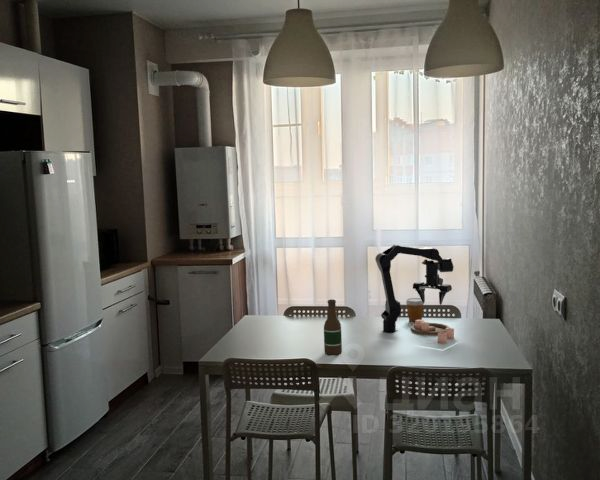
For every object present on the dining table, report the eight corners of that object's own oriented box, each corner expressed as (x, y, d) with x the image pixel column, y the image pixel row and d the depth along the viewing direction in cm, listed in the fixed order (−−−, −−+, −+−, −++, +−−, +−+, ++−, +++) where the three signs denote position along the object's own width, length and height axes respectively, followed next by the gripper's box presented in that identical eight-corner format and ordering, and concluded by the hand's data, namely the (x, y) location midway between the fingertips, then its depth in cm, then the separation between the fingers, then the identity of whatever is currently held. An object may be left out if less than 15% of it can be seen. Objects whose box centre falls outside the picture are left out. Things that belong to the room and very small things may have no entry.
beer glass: (402, 321, 320) (402, 299, 319) (417, 319, 324) (417, 297, 323) (413, 325, 311) (412, 302, 310) (428, 322, 315) (428, 300, 314)
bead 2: (451, 340, 280) (451, 330, 280) (443, 339, 283) (443, 329, 282) (455, 338, 283) (455, 328, 283) (447, 337, 286) (447, 327, 285)
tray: (438, 338, 285) (438, 334, 284) (404, 333, 297) (404, 328, 296) (456, 330, 298) (456, 326, 298) (423, 325, 310) (423, 321, 310)
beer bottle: (331, 349, 272) (329, 297, 270) (345, 352, 267) (344, 299, 265) (320, 354, 266) (319, 300, 264) (335, 357, 261) (333, 302, 259)
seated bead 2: (426, 334, 291) (426, 324, 290) (419, 333, 293) (419, 322, 293) (430, 332, 294) (430, 322, 293) (423, 331, 296) (423, 321, 296)
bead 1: (444, 345, 273) (444, 334, 272) (436, 344, 276) (436, 333, 275) (448, 343, 276) (448, 332, 275) (440, 342, 279) (440, 331, 278)
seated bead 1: (421, 332, 295) (420, 321, 295) (413, 330, 298) (413, 320, 297) (425, 330, 298) (425, 320, 298) (418, 329, 301) (417, 319, 300)
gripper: (456, 272, 300) (456, 302, 302) (422, 269, 312) (422, 299, 314) (446, 275, 292) (446, 307, 293) (412, 272, 303) (412, 302, 305)
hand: (432, 303), depth 301 cm, fingers open, 9 cm apart
